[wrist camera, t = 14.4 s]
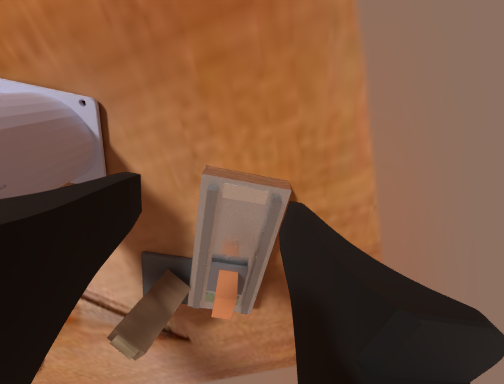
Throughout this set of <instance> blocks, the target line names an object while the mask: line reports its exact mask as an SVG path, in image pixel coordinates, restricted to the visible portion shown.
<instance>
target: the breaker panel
mask: <svg viewBox="0 0 504 384" xmlns="http://www.w3.org/2000/svg"><path fill="white" fill-rule="evenodd" d="M291 191H292V190H291V187H290V185H289V182H288V181H285V180H280V179H275V178H269V177H264V176H259V175H254V174H248V173H243V172H238V171H232V170H227V169H222V168H216V167H211V166H206V167H205V169H204V171H203V173H202V178H201V187H200V196H199V205H198V214H197V223H196V233H195V242H194V251H193V260H192V269H191V278H190V288H191V290H190V291H189V297H188V306H190V307H192V308H197V309H199V308H207V309H213V304H214V297H215V292H214V291H206V290H207V284H208V278H209V272H210V265H211V261H212V262H219V263H227V264H234V265H241V266H248V274H247V277H246V281H245V284H244V288H243V292H242V295H238V294H237V301H236V305H235V309H234V312H241V314H247V313H250V314H251V312H252V309H253V306H254V303H255V300H256V297H257V294H258V291H259V288H260V285H261V282H262V279H263V276H264V273H265V270H266V267H267V263H268V260H269V257H270V254H271V251H272V248H273V245H274V242H275V239H276V236H277V233H278V230H279V227H280V224H281V221H282V218H283V215H284V212H285V209H286V206H287V203H288V200H289V197H290V194H291Z"/></svg>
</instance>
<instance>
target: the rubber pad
mask: <svg viewBox="0 0 504 384" xmlns="http://www.w3.org/2000/svg"><path fill="white" fill-rule="evenodd" d="M192 260H193V258H186V257H179V256H171V255H164V254H157V253H150V252H143V253H142V277H143V296H144V295H145V294H146V293H147V292H148V291H149V290H150V289H151V287H152V286H153V285H154V284H155V283H156V282H157V281H158V280H159V278H160V277H161V276H162V275H163V274H164V273H165V272H166V271H167V270H168V269H169V270H170V271H171V272H172V273H173V274H175V275H176V276H177V277H178V278H179V279H181V280H182V281H183V282H184V283H185V284H187V285H188V286H189V287H190V278H191V269H192ZM188 297H189V292H188V294H187V295H186V297H185V298H184V300H183V301H182V302H181V303H182V304H188Z"/></svg>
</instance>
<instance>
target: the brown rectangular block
mask: <svg viewBox="0 0 504 384" xmlns="http://www.w3.org/2000/svg"><path fill="white" fill-rule="evenodd" d="M190 290H191V288H190V287H189V286H188V285H187V284H185V283H184V282H183V281H182V280H181V279H179V278H178V277H177V276H176V275H175V274H173V273H172V272H171V271H170V270H169V269H168V270H167V271H166V272H165V273H164V274H163V275H162V276H161V277H160V278H159V280H158V281H157V282H156V283H155V284H154V285H153V286H152V287H151V289H150V290H149V291H148V292H147V293H146V294H145V295H144V296H143V297H142V299H141V300H140V301H139V302H138V303H137V304H136V305H135V306H134V307H133V309H132V310H131V311H130V312H129V313H128V314H127V315H126V316H125V317H124V319H123V320H122V321H121V322H120V323H119V324H118V325H117V326H116V328H115V329H114V330H113V331H112V332H111V334H110V335H109V336H108V337H107V338H108V339H109V340H110V341H111V343H110V344H111V345H112V346H114V347H115V348H116V349H117V350H119V351H120V352H121V353H122V354H124V355H125V356H126V357H127V358H128V359H131V358H133V359H134V360H137V359H138V358H140V357H141V356H143V355H144V354H146V352H147V351H148V349H149V348H150V347H151V345H152V344H153V342H154V341H155V339H156V338H157V337H158V335H159V334H160V332H161V331H162V329H163V328H164V327H165V325H166V324H167V322H168V321H169V319H170V318H171V317H172V315H173V314H174V312H175V311H176V310H177V308H178V307H179V305H180V304H181V302H182V301H183V300H184V298H185V297H186V295H187V294H188V292H189V291H190Z"/></svg>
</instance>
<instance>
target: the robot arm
mask: <svg viewBox="0 0 504 384" xmlns="http://www.w3.org/2000/svg"><path fill="white" fill-rule="evenodd" d="M82 100H84V101H85V103H86V106H85V105H84V104H83V103H82ZM69 182H70V183H76V184H74V185H70V186H66V187H62V186H63V185H65V184H67V183H69ZM60 187H61V188H60ZM141 212H142V205H141V176H140V174H136V173H130V172H122V173H117V174H113V175H109V176H106V167H105V158H104V150H103V141H102V132H101V123H100V114H99V106H98V102H97V101H96V100H95V99H94V98H92V97H87V96H82V95H78V94H73V93H68V92H64V91H59V90H54V89H49V88H45V87H40V86H35V85H30V84H26V83H21V82H16V81H11V80H7V79H2V78H0V384H31V383H32V381H33V379H34V377H35V375H36V373H37V371H38V370H39V368H40V366H41V364H42V362H43V360H44V358H45V357H46V355H47V353H48V351H49V350H50V348H51V346H52V344H53V343H54V341H55V339H56V337H57V336H58V334H59V332H60V330H61V329H62V327H63V325H64V323H65V322H66V320H67V319H68V317H69V315H70V314H71V312H72V310H73V309H74V307H75V305H76V304H77V302H78V300H79V299H80V297H81V296H82V294H83V293H84V291H85V290H86V288H87V286H88V285H89V283H90V282H91V280H92V279H93V277H94V276H95V274H96V273H97V272H98V270H99V269H100V268H101V266H102V265H103V264H104V263H105V261H106V260H107V259H108V258H109V257H110V255H111V254H112V253H113V252H114V250H115V249H116V248H117V247H118V245H119V244H120V243H121V242H122V240H123V239H124V238H125V237H126V235H127V234H128V233H129V231H130V230H131V229H132V227H133V226H134V224H135V222H136V221H137V219H138V217H139V215H140V214H141ZM279 239H280V251H281V256H282V261H283V266H284V270H285V275H286V279H287V284H288V289H289V293H290V299H291V307H292V316H293V325H294V336H295V347H296V362H297V375H298V384H470V382H471V381H473V380H474V379H476V378H477V377H478V376H480V375H481V374H482V373H484V372H486V371H487V370H488V369H490V368H491V367H492V366H494V365H495V364H496V363H497V362H499V361H500V360H501V359H502V358H503V356H504V335H503V334H502V333H501V332H500V331H499V330H498V329H497V328H496V327H495V326H494V325H493V324H492V323H491V322H490V321H489V320H488V319H487V318H486V317H485V316H484V315H483V314H482V313H480V312H479V311H478V310H476V309H475V308H472V307H470V306H468V305H466V304H463V303H461V302H459V301H456V300H454V299H452V298H450V297H447V296H445V295H442V294H440V293H438V292H436V291H434V290H431V289H429V288H427V287H425V286H423V285H421V284H419V283H417V282H415V281H413V280H411V279H409V278H407V277H405V276H403V275H402V274H400V273H398V272H396V271H394V270H392V269H391V268H389V267H387V266H386V265H384V264H382V263H380V262H379V261H377V260H375V259H374V258H372V257H370V256H369V255H367V254H366V253H364V252H363V251H361V250H360V249H358V248H357V247H355V246H354V245H353V244H351V243H350V242H348V241H347V240H346V239H345V238H343V237H342V236H341V235H339V234H338V233H337V232H336V231H334V230H333V229H332V228H331V227H330V226H328V225H327V224H326V223H325V222H324V221H323V220H321V219H320V218H319V217H318V216H317V215H316V214H315V213H314V212H312V211H311V210H310V209H309V208H308V207H306V206H305V205H304V204H302V203H298V202H293V201H290V203H289V206H288V209H287V212H286V215H285V218H284V221H283V224H282V226H281V229H280V232H279Z"/></svg>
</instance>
